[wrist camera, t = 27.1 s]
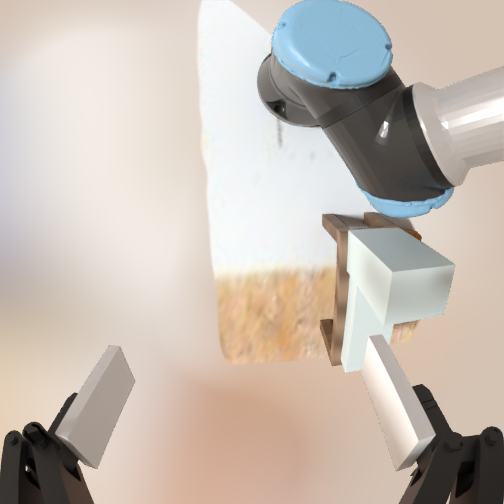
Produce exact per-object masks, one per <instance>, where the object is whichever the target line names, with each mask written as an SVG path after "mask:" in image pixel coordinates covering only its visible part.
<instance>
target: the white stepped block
mask: <svg viewBox="0 0 504 504" xmlns="http://www.w3.org/2000/svg"><path fill="white" fill-rule="evenodd" d="M454 268H455V264H454V263H452V262H451V261H449V260H448V259H447V258H445V257H444V256H442V255H441V254H439V253H438V252H436V251H435V250H433V249H432V248H430V247H429V246H427V245H426V244H424V243H423V242H421V241H419V240H418V239H416V238H415V237H413V236H412V235H410V234H408V233H407V232H405V231H404V230H402V229H400V228H379V229H359V230H348V256H347V272H348V273H349V275H350V278H349V291H348V302H347V313H346V322H345V330H344V339H343V346H342V353H341V362H342V365H343V368H344V371H345V373H346V372H352V371H358V370H362V367H363V362H364V358H365V353H366V348H367V343H368V337H369V336H373V335H379V334H382V335H383V336H384V338H385V340H386V342H387V343H388V345H389V343H390V338H391V334H392V330H393V325H394V324H399V323H405V322H410V321H415V320H420V319H425V318H430V317H435V316H439V315H444V311H445V308H446V304H447V300H448V296H449V292H450V288H451V283H452V278H453V274H454Z"/></svg>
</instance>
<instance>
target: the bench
mask: <svg viewBox="0 0 504 504" xmlns="http://www.w3.org/2000/svg"><path fill="white" fill-rule="evenodd" d="M364 224H366V225H367V226H368V227H370V228H358V229H350V228H349V227H348V226H347V225H345V224H344V223H343V222H342V221H341V220H340V219H338V218H337V217H336V216H335V215H334V214H322V226H323V227H324V228H325V229H326V230H327V231H328V233H329V234H330V235H331V236H332V237H333V239H334V240H335V241H336V242H337V269H336V290H335V306H334V320H333V326H332V324H331V321H330V319H327V320H320V329H321V332H322V336H323V339H324V342H325V345H326V348H327V352H328V355H329V358H330V361H331V365H332V366H336V365H342V362H341V353H342V346H343V339H344V330H345V322H346V313H347V302H348V291H349V278H350V275H349V273H348V272H347V256H348V230H359V229H379V228H400V227H398V226H397V225H395V224H393V223H391V222H390V221H388V220H386V219H385V218H383V217H381V216H379V215H378V214H376V213H374V212H367V213H364ZM400 229H401V228H400ZM402 230H403V229H402Z"/></svg>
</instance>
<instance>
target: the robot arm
mask: <svg viewBox="0 0 504 504" xmlns="http://www.w3.org/2000/svg"><path fill="white" fill-rule="evenodd" d="M391 48H392V43H391V40H390V37H389V35H388V33H387V32H386V30H385V28H384V27H383V26H382V25H381V23H380V22H379V21H378V20H377V19H376V18H375V17H374V16H372V15H371V14H370V13H368V12H367V11H365V10H364V9H362V8H360V7H359V6H356V5H354V4H352V3H349V2H346V1H337V0H304V1H301V2H299V3H297V4H295V5H293V6H292V7H290V8H289V9H287V10H286V11H285V12H284V13H283V15H282V16H281V18H280V19H279V21H278V24H277V26H276V28H275V30H274V32H273V36H272V50H271V53H270V54H269V55H268V56H267V57H266V58H265V59H264V61H263V62H262V64H261V66H260V68H259V72H258V77H257V87H258V92H259V96H260V98H261V100H262V102H263V104H264V105H265V107H266V108H267V109H268V110H269V111H270V112H271V113H272V114H273V115H274V116H275V117H277V118H278V119H280V120H282V121H284V122H286V123H289V124H292V125H296V126H305V127H307V126H315V125H320V126H321V128H322V130H323V131H324V132H325V134H326V135H327V137H328V138H329V140H330V141H331V143H332V144H333V146H334V147H335V149H336V150H337V152H338V153H339V155H340V156H341V158H342V159H343V161H344V163H345V164H346V166H347V167H348V169H349V170H350V172H351V174H352V175H353V177H354V179H355V181H356V184H357V186H358V188H360V190H361V191H362V192H363V193H364V194H365V196H366V197H367V199H368V200H369V202H370V204H371V205H372V206H373V207H374V208H375V209H376V210H377V211H378V212H380V213H382V214H384V215H386V216H390V217H395V218H410V217H416V216H421V215H424V214H427V213H429V212H430V209H432V208H436V209H438V208H439V207H441V206H442V205H444V204H445V203H446V202H447V201H448V200H449V199H450V197H451V196H452V194H453V191H454V187H456V186H460V185H461V184H462V183H463V181H464V179H465V177H466V175H467V173H468V171H469V170H470V169H471V168H473V167H477V166H482V165H486V164H491V163H495V162H500V161H504V66H503V67H500V68H496V69H493V70H490V71H488V72H485V73H482V74H479V75H476V76H473V77H471V78H468V79H465V80H463V81H460V82H457V83H455V84H452V85H450V86H447V87H445V88H442V89H435V88H432V87H431V86H429V85H426V84H424V83H421V82H419V83H415V84H414V85H411V86H409V87H405V85H404V84H403V83H402V81H401V80H400V78H399V77H398V75H397V74H396V72H395V71H394V69H393V68H392V66H391V63H392V59H393V54H392V53H391ZM361 375H362V378H363V380H364V382H365V385H366V388H367V391H368V393H369V395H370V398H371V401H372V404H373V406H374V409H375V412H376V415H377V417H378V420H379V423H380V426H381V429H382V431H383V434H384V437H385V440H386V443H387V446H388V449H389V452H390V455H391V458H392V461H393V464H394V467H395V470H396V471H399V470H402V469H405V468H408V467H410V466H412V465H413V464H414V462H415V461H417V464H418V467H417V468H416V469H415V470H414V472H413V473H412V474H411V475H410V476H413V477H412V479H411V481H410V483H409V485H408V487H407V489H406V491H405V493H404V495H403V497H402V499H401V501H400V502H399V504H446V502H447V500H448V497H449V495H450V493H451V495H450V501H449V504H503V500H504V438H503V434H502V432H501V431H500V429H498V428H497V427H492V426H491V427H487V428H486V429H485V430H483V432H482V433H481V434H480V435H474V436H466V437H463V436H462V435H461V434H459V433H456V432H453V431H452V430H451V428H450V427H449V425H448V423H447V421H446V419H445V417H444V415H443V414H442V412H441V410H440V408H439V407H438V405H437V402H436V401H435V400H434V397H433V395H432V393H431V392H430V390H429V389H427V388H426V387H425V386H424V385H423V384H420V385H416V386H413V387H412V386H411V384H410V382H409V381H408V379H407V377H406V375H405V373H404V371H403V370H402V368H401V366H400V365H399V362H398V361H397V359H396V357H395V355H394V354H393V352H392V350H391V349H390V347H389V345H388V343H387V342H386V340H385V338H384V336H383V335H382V334H379V335H373V336H369V337H368V343H367V348H366V353H365V358H364V362H363V367H362V371H361ZM134 383H135V379H134V377H133V375H132V372H131V370H130V368H129V366H128V363H127V361H126V359H125V357H124V354H123V352H122V349H121V347H120V346H111V345H109V346H108V348H107V349H106V351H105V353H104V354H103V355H102V357H101V358H100V360H99V362H98V363H97V364H96V366H95V367H94V369H93V371H92V372H91V374H90V375H89V377H88V378H87V380H86V382H85V383H84V385H83V386H82V388H81V390H80V391H79V393H73V394H72V395H71V396H70V397H68V398H67V400H66V402H65V403H64V405H63V407H62V408H61V410H60V413H58V415H57V416H56V418H55V420H54V421H53V423H52V425H51V427H50V428H49V430H48V431H46V430H45V429H44V428H43V426H42V425H41V424H40V423H38V422H31V423H29V424H27V425H26V426H25V427H24V429H23V432H22V435H23V436H24V437H23V436H22V435H21V434H20V433H19V432H18V431H15V430H14V431H10V432H9V433H8V434H7V435H6V437H5V440H4V446H3V453H2V460H1V471H0V504H94V502H93V500H92V497H91V495H90V493H89V490H88V488H87V485H86V482H85V480H84V477H83V474H82V472H81V469H80V467H79V465H78V463H77V462H78V460H80V461H81V462H83V464H85V465H87V466H89V467H92V468H95V469H98V466H99V463H100V461H101V458H102V456H103V454H104V451H105V449H106V446H107V444H108V442H109V439H110V437H111V435H112V432H113V430H114V428H115V425H116V423H117V421H118V418H119V416H120V414H121V412H122V409H123V407H124V405H125V403H126V401H127V398H128V396H129V394H130V392H131V390H132V387H133V385H134ZM26 466H27V467H28V470H27V471H26Z"/></svg>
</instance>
